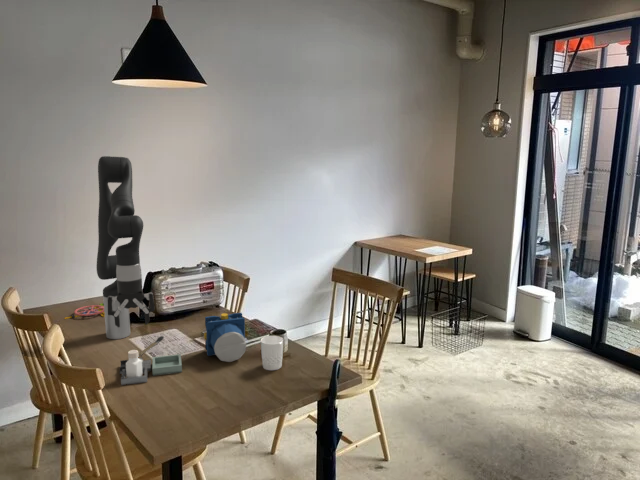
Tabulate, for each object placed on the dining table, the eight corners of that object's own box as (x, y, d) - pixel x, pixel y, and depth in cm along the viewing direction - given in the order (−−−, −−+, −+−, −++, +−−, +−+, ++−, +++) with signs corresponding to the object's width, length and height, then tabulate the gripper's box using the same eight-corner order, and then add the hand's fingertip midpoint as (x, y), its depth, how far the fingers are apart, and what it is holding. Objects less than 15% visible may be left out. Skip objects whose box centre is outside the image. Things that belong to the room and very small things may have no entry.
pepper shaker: (143, 376, 173) (141, 349, 171) (137, 381, 169) (135, 354, 167) (132, 375, 174) (130, 348, 172) (126, 380, 170) (124, 353, 168)
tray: (153, 364, 182) (152, 357, 182) (180, 360, 185) (180, 354, 184) (152, 375, 173) (152, 368, 173) (182, 372, 176) (181, 365, 175)
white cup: (286, 363, 183) (286, 337, 181) (278, 372, 176) (277, 345, 174) (266, 360, 186) (266, 334, 184) (257, 369, 179) (256, 342, 177)
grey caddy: (121, 366, 180) (120, 355, 179) (151, 362, 183) (150, 352, 182) (118, 385, 166) (117, 374, 165) (150, 381, 169) (149, 370, 168)
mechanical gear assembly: (61, 315, 232) (68, 325, 221) (60, 306, 231) (68, 316, 220) (128, 302, 250) (138, 312, 239) (127, 294, 249) (138, 303, 238)
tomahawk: (144, 363, 185) (144, 361, 185) (128, 360, 186) (128, 357, 186) (174, 341, 205) (174, 338, 204) (159, 338, 206) (159, 335, 206)
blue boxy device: (203, 349, 194) (203, 314, 189) (242, 344, 199) (243, 309, 194) (210, 368, 182) (209, 331, 177) (251, 362, 188) (251, 325, 183)
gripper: (152, 272, 171) (155, 319, 173) (106, 276, 166) (110, 323, 169) (152, 278, 163) (155, 326, 166) (104, 282, 159) (108, 331, 162)
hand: (132, 325), depth 168 cm, fingers open, 8 cm apart
